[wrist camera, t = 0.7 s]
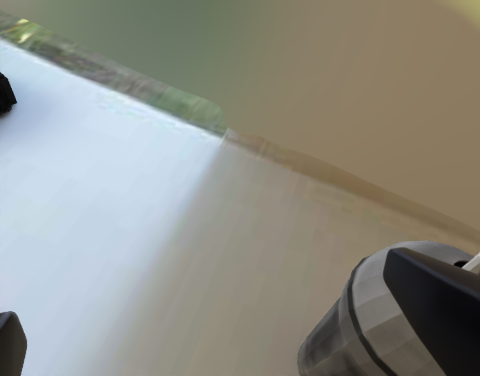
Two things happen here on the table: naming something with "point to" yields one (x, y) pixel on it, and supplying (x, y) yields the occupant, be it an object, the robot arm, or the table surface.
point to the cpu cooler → (6, 94)
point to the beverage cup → (374, 324)
